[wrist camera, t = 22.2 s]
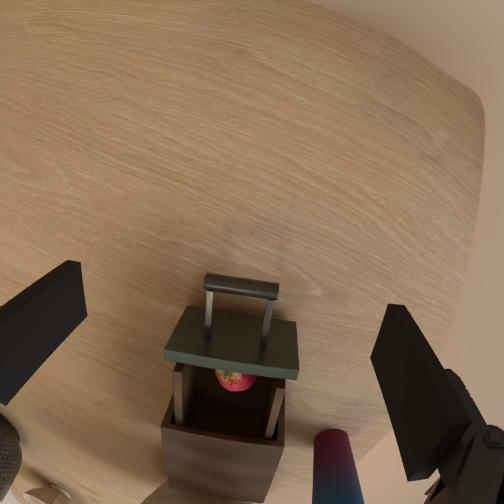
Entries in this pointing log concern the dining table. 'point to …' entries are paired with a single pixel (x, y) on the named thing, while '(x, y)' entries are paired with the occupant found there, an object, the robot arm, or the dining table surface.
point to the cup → (334, 470)
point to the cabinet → (221, 460)
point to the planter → (8, 455)
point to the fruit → (235, 380)
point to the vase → (184, 497)
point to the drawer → (232, 362)
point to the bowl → (47, 496)
